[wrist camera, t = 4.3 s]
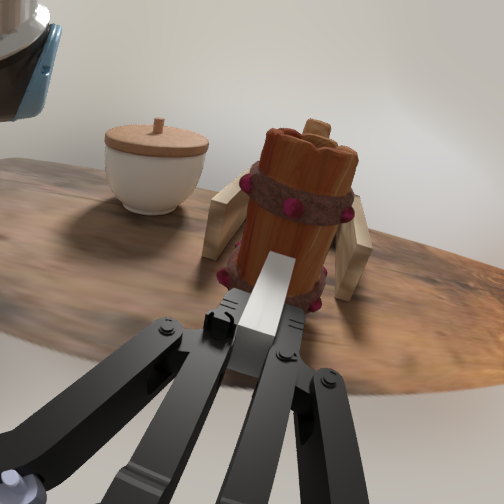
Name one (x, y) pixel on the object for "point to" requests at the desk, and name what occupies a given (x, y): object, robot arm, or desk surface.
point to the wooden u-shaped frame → (347, 235)
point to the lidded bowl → (153, 166)
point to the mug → (294, 210)
